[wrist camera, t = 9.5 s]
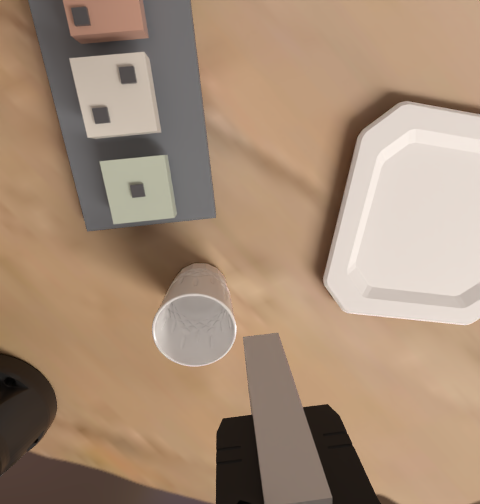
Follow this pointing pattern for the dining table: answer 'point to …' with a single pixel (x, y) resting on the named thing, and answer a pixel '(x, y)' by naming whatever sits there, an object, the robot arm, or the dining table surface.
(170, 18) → the board
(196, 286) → the white cup
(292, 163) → the dining table surface
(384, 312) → the plate
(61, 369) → the dining table surface
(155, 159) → the tile one
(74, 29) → the tile three
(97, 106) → the tile two
